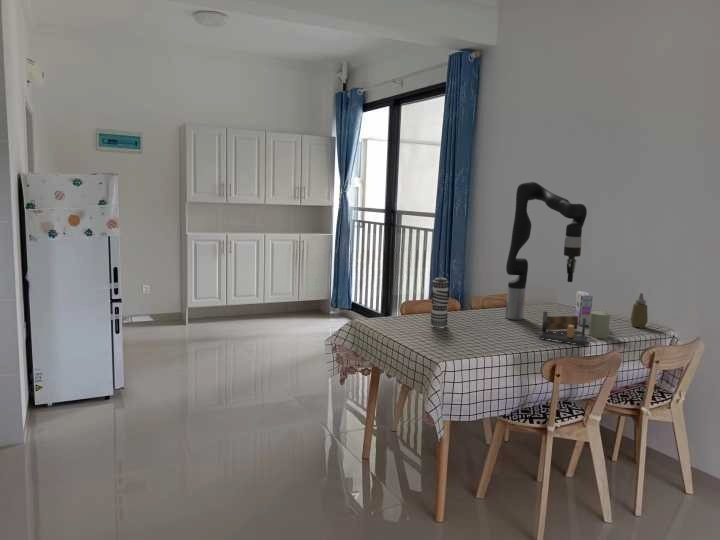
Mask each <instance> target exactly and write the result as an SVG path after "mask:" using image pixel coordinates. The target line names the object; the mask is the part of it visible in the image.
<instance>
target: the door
mask: <svg viewBox="0 0 720 540" xmlns="http://www.w3.org/2000/svg"><path fill="white" fill-rule="evenodd" d="M569 324H570V325H574V330H577V329H578V316H575V315H555V316H554V315H552V316H551V315H550V316H549V315H547V327H546V331H554V330H555V331H556V330H557V331H559V330H567V329H568V325H569Z"/></svg>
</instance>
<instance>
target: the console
mask: <svg viewBox="0 0 720 540" xmlns="http://www.w3.org/2000/svg"><path fill="white" fill-rule="evenodd" d="M540 338H544V339H551V340H558V341H562V342H570V343H576V344H575V345H577V344H579V345H578V346H584V347H585V346H586V345H587V342H588V336H585V335H584V336H576V335H574V336H573V337H572V338H570V337H567V334H561V333H553V332H547V330H546V331H542V332H541V334H540V335H539V339H540ZM586 341H587V342H586ZM562 342H561V343H562ZM570 343H569V344H570Z"/></svg>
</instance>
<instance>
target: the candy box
mask: <svg viewBox="0 0 720 540" xmlns="http://www.w3.org/2000/svg"><path fill="white" fill-rule="evenodd" d="M575 295H576V296H575V298H576V299H575V312H574V316H578V324H577V326H581V327H583V318H586V322H585V327H589V326H590V312H591V311H592V308H593V307H592V306H593V295H592V294H591V293H590V292H588V291H584V290H583V291H582V290H578V291H576V294H575Z"/></svg>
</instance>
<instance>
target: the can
mask: <svg viewBox="0 0 720 540" xmlns="http://www.w3.org/2000/svg"><path fill="white" fill-rule="evenodd" d="M610 321H611V313H610V312H606V311H602V310H601V311H600V310H591V312H590V326H588V328H589V329H588V334H589V335H590V336H589V335H588V336H589V337H591V336H593V337H592V338H595V337H598V338H597V339H608V338H609V336H610V335H609V333H610ZM607 337H608V338H607Z"/></svg>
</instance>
